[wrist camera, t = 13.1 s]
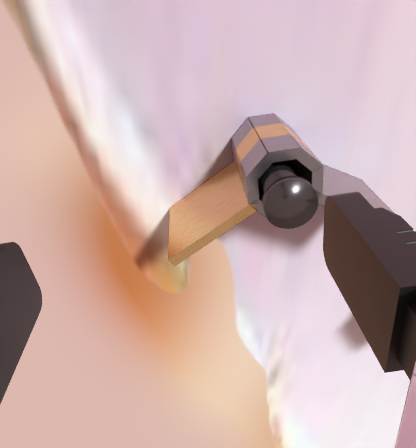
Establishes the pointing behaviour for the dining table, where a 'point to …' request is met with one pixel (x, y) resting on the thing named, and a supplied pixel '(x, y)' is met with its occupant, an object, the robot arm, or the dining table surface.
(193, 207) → the hinge
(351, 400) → the dining table surface
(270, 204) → the hinge pin
